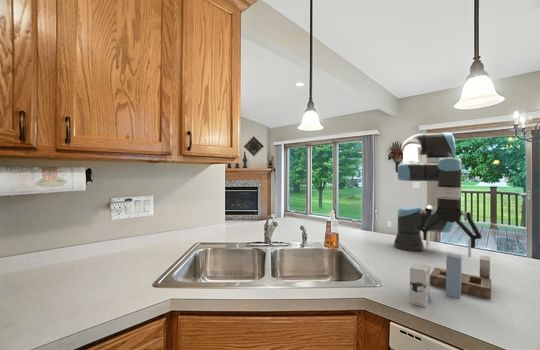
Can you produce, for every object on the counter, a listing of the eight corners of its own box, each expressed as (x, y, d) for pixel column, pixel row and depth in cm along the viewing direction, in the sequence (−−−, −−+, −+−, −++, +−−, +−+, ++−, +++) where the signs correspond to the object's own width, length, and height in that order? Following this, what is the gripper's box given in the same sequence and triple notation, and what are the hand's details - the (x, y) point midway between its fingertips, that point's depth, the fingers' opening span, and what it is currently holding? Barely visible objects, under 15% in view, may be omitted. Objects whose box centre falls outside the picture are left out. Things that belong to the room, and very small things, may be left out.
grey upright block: (479, 284, 101) (479, 259, 101) (480, 279, 106) (480, 255, 106) (489, 287, 99) (490, 260, 99) (489, 281, 104) (490, 256, 104)
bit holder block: (429, 284, 101) (430, 275, 101) (434, 275, 110) (435, 267, 110) (490, 299, 90) (490, 289, 90) (491, 288, 98) (491, 279, 98)
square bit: (445, 294, 93) (446, 255, 92) (447, 291, 96) (448, 252, 95) (459, 298, 90) (460, 257, 90) (461, 294, 93) (461, 255, 93)
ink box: (414, 294, 93) (414, 260, 93) (430, 298, 90) (430, 264, 90) (408, 303, 87) (409, 267, 86) (425, 308, 83) (426, 271, 83)
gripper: (410, 196, 107) (410, 247, 108) (490, 201, 91) (489, 262, 92) (415, 194, 113) (414, 243, 114) (491, 199, 97) (489, 256, 97)
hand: (447, 252), depth 103 cm, fingers open, 13 cm apart
